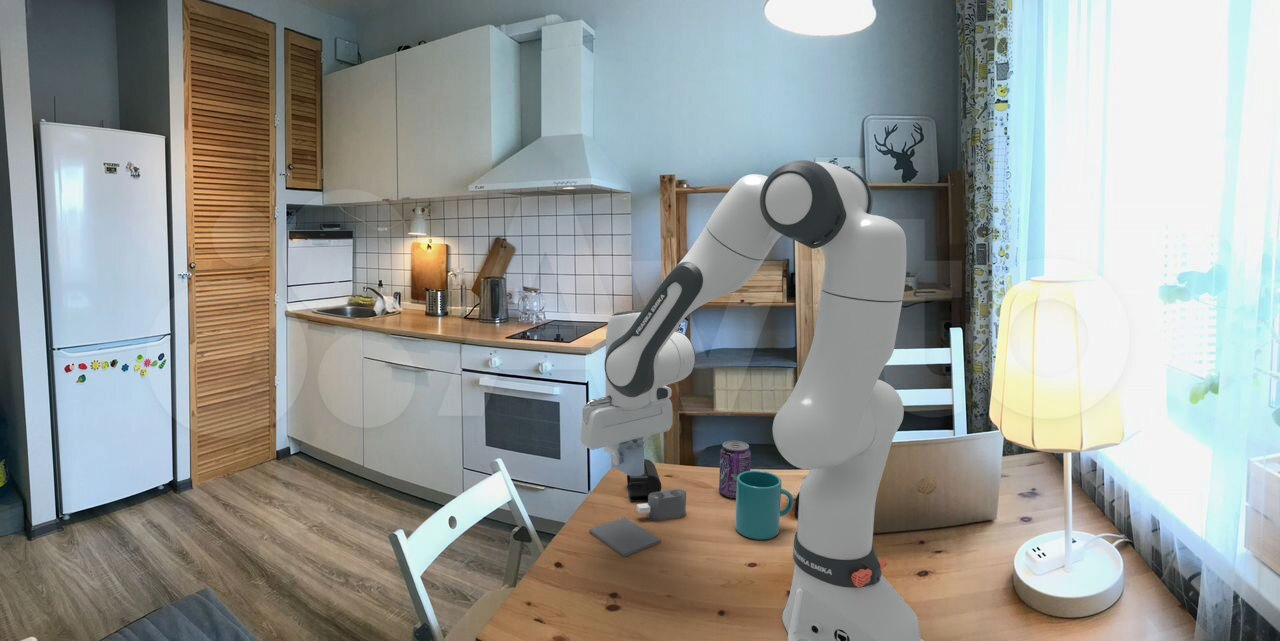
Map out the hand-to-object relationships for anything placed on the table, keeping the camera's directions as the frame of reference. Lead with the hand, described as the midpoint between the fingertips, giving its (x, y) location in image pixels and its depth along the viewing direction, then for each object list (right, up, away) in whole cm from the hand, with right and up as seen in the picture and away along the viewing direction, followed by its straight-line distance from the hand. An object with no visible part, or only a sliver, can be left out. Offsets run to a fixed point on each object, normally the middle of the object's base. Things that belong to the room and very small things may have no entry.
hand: (627, 460), depth 121 cm
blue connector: (-1, -2, +1) cm, 2 cm away
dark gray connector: (+7, -15, +12) cm, 21 cm away
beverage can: (+25, -14, +24) cm, 37 cm away
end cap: (+3, -14, +24) cm, 28 cm away
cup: (+28, -16, +7) cm, 33 cm away
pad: (-1, -16, +3) cm, 17 cm away
